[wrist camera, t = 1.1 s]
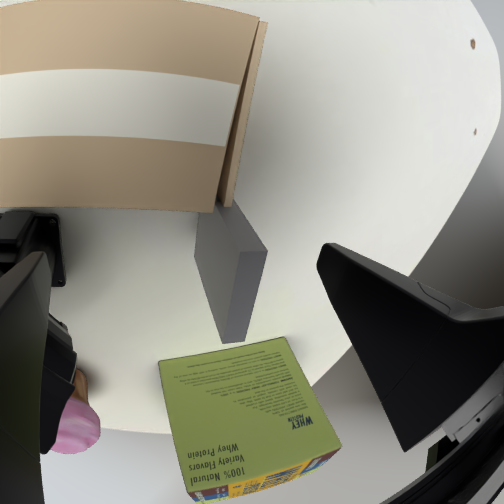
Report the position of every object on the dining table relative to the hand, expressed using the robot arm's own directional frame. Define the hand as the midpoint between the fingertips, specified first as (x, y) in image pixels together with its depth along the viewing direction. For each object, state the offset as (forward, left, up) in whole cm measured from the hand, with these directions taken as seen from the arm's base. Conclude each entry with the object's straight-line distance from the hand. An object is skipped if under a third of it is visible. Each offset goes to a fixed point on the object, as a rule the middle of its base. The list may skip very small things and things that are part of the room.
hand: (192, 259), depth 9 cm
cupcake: (-25, +11, -13) cm, 31 cm away
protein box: (-26, -9, -13) cm, 31 cm away
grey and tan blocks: (+1, -3, -13) cm, 13 cm away
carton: (+4, +5, -13) cm, 14 cm away
